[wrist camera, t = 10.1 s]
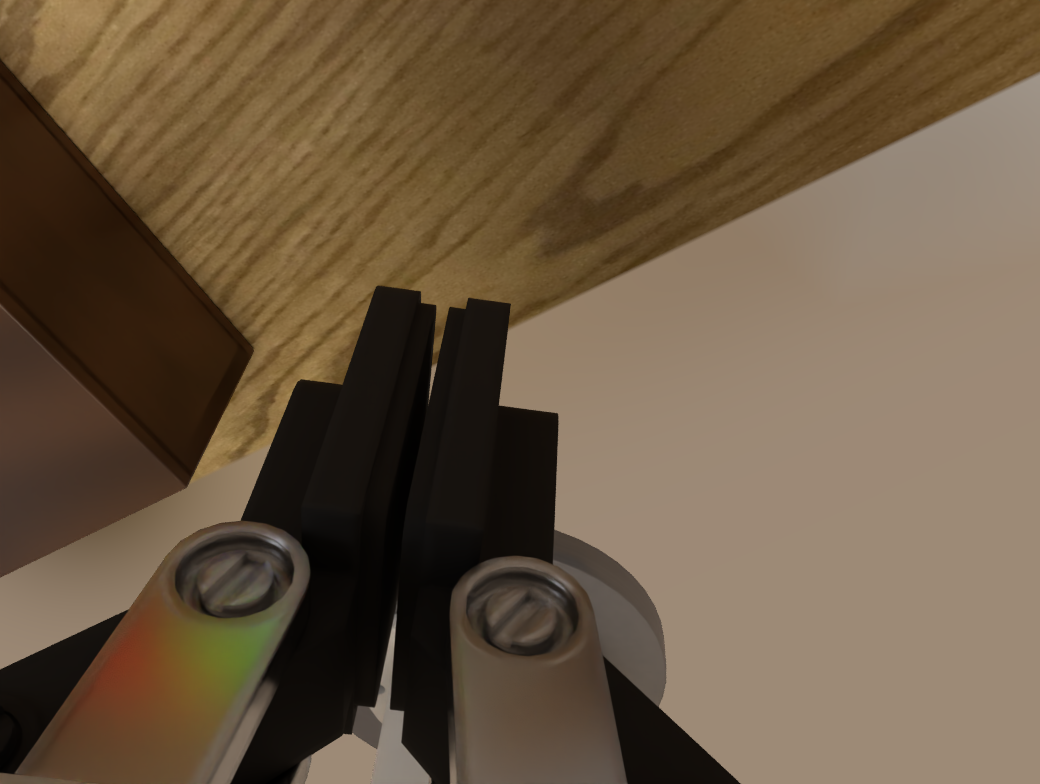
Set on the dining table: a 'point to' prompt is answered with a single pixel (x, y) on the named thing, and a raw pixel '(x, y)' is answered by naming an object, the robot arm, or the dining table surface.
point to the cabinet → (92, 347)
